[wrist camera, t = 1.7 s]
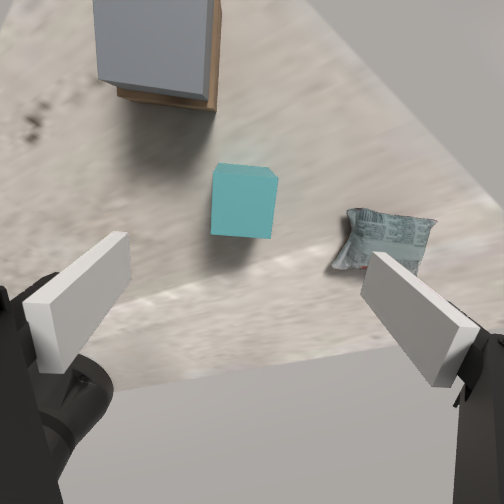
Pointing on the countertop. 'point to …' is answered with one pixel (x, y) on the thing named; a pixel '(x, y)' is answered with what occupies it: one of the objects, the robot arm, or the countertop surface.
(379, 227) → the packaged food
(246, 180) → the teal block
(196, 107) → the walnut base
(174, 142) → the countertop surface
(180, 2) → the charcoal block
